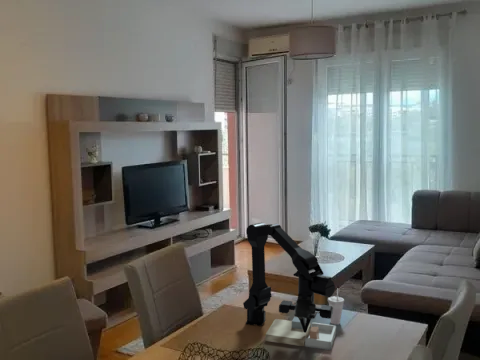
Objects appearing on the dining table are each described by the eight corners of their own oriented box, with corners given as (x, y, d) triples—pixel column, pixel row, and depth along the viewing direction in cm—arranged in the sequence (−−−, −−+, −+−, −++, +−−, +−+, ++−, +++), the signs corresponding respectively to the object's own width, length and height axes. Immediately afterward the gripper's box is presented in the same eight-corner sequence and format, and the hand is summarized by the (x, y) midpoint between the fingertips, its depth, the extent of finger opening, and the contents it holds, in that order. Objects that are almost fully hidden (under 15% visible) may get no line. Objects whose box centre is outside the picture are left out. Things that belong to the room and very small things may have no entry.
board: (265, 340, 180) (265, 334, 180) (275, 325, 194) (275, 318, 194) (303, 346, 176) (303, 339, 176) (310, 329, 190) (311, 323, 190)
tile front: (309, 331, 176) (316, 331, 175) (311, 326, 180) (318, 326, 180) (310, 343, 176) (317, 344, 176) (312, 338, 181) (319, 338, 180)
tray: (305, 346, 176) (305, 338, 175) (312, 329, 190) (312, 322, 190) (330, 350, 173) (331, 342, 173) (336, 333, 187) (336, 325, 187)
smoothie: (343, 326, 193) (344, 291, 192) (326, 325, 195) (327, 290, 193) (343, 320, 200) (344, 286, 198) (327, 318, 201) (328, 285, 199)
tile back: (291, 327, 186) (291, 321, 185) (294, 323, 190) (294, 316, 190) (303, 329, 184) (303, 322, 184) (305, 324, 189) (305, 318, 188)
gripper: (275, 294, 173) (274, 337, 174) (329, 300, 167) (328, 345, 169) (282, 284, 183) (281, 325, 185) (333, 290, 178) (332, 332, 179)
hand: (305, 332), depth 179 cm, fingers closed
